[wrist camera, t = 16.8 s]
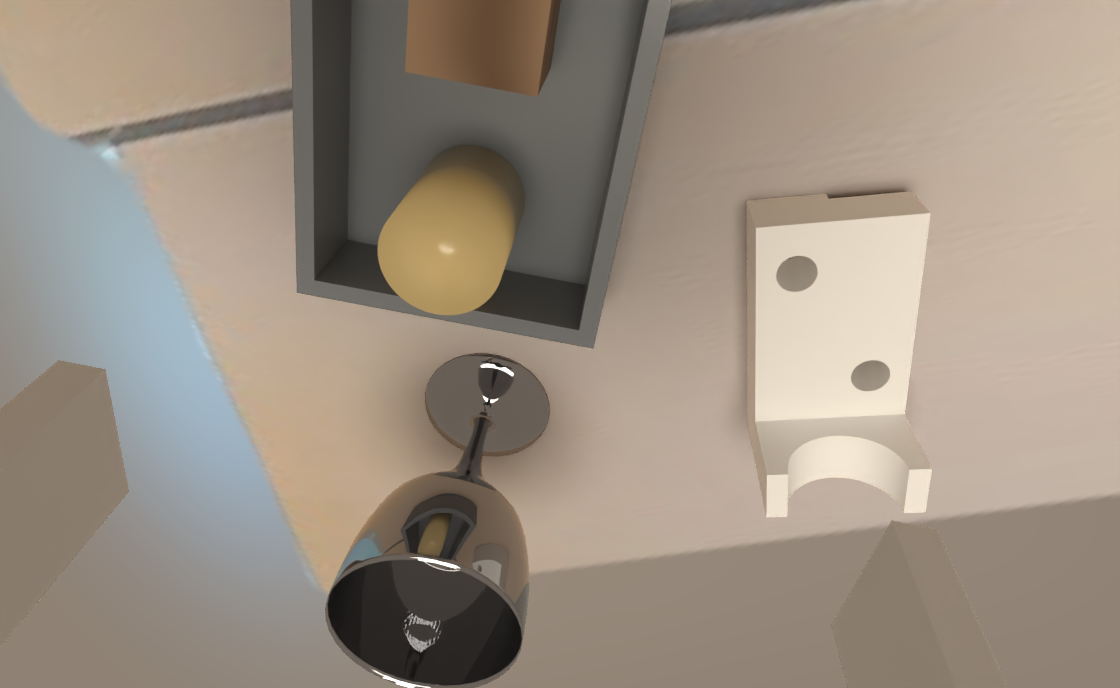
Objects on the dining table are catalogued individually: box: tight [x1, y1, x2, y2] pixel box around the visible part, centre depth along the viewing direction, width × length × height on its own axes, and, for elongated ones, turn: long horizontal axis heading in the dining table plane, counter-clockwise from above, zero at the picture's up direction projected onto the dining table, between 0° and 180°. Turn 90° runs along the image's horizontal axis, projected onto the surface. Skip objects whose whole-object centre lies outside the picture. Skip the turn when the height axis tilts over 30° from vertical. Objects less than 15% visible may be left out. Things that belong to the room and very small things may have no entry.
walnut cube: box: [405, 0, 561, 97], centre depth 29 cm, size 5×5×5 cm
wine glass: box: [325, 354, 550, 688], centre depth 36 cm, size 8×8×15 cm
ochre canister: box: [378, 145, 525, 315], centre depth 33 cm, size 5×5×7 cm
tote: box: [291, 0, 672, 348], centre depth 31 cm, size 18×14×5 cm
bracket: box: [747, 191, 932, 517], centre depth 35 cm, size 13×7×8 cm, turn 8°
